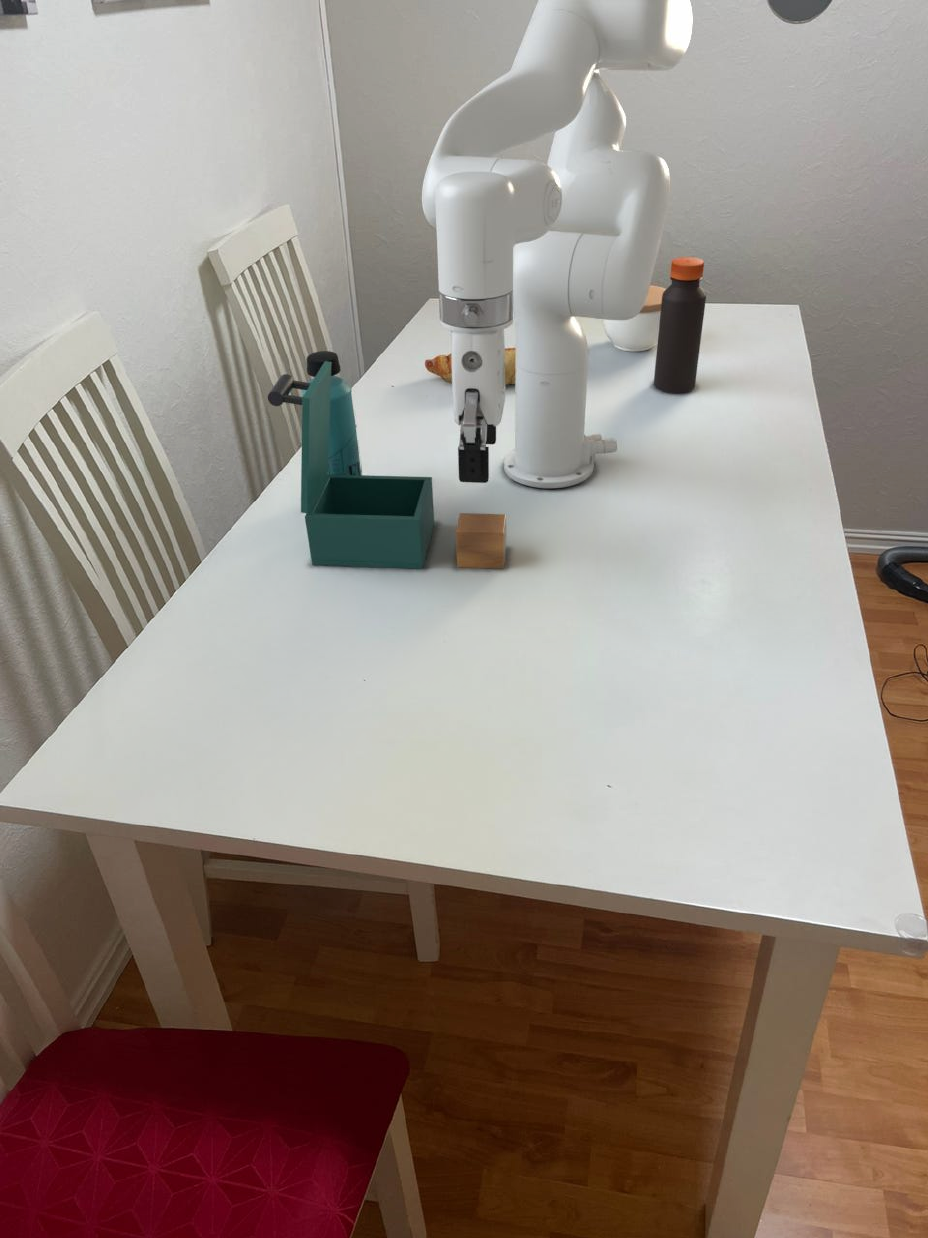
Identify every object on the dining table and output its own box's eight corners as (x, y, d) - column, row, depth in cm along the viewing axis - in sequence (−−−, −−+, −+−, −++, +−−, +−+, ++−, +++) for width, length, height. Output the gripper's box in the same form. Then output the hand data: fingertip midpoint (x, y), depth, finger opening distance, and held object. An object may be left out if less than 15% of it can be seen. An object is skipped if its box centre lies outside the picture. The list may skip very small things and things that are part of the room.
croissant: (548, 393, 159) (551, 346, 158) (547, 387, 149) (550, 336, 148) (428, 388, 161) (430, 341, 160) (419, 382, 152) (421, 332, 150)
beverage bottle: (357, 511, 121) (340, 365, 109) (309, 508, 122) (287, 363, 110) (370, 488, 126) (356, 346, 114) (325, 485, 127) (305, 344, 116)
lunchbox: (434, 523, 118) (431, 476, 114) (422, 569, 110) (419, 519, 106) (331, 520, 119) (325, 474, 115) (312, 565, 111) (304, 516, 107)
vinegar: (645, 387, 152) (656, 262, 140) (666, 375, 156) (679, 252, 144) (681, 397, 148) (696, 270, 136) (702, 384, 152) (718, 259, 140)
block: (506, 549, 113) (506, 514, 110) (503, 569, 109) (503, 533, 106) (461, 547, 113) (459, 512, 110) (457, 567, 110) (455, 531, 107)
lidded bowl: (592, 335, 172) (595, 275, 166) (657, 330, 173) (663, 270, 167) (607, 359, 162) (611, 296, 156) (677, 354, 163) (684, 291, 156)
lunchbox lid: (331, 361, 106) (285, 354, 107) (309, 398, 98) (260, 390, 98) (328, 471, 115) (285, 464, 115) (307, 513, 107) (261, 506, 107)
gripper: (506, 336, 86) (506, 498, 96) (518, 283, 100) (516, 430, 110) (427, 334, 86) (434, 496, 96) (449, 283, 100) (454, 429, 110)
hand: (478, 461), depth 103 cm, fingers open, 9 cm apart
